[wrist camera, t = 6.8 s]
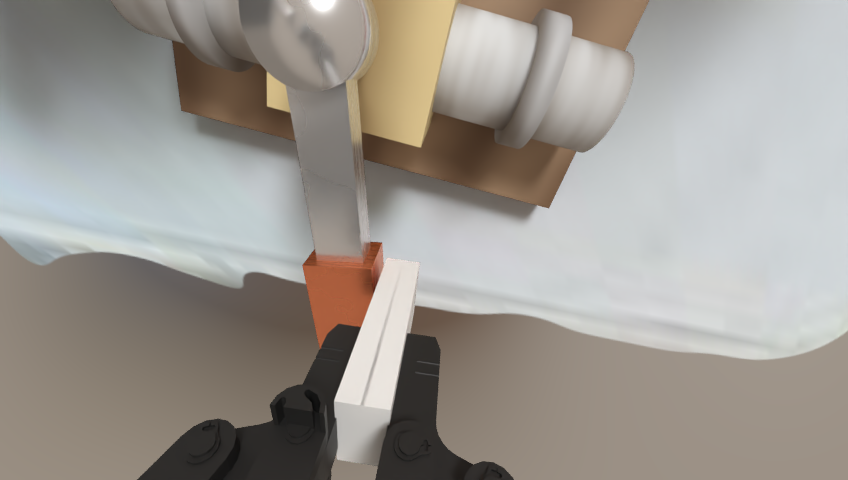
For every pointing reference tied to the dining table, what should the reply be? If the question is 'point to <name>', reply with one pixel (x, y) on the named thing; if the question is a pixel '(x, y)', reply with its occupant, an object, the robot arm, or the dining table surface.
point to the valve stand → (434, 83)
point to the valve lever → (326, 139)
